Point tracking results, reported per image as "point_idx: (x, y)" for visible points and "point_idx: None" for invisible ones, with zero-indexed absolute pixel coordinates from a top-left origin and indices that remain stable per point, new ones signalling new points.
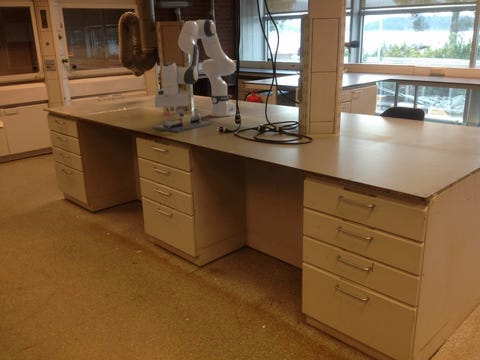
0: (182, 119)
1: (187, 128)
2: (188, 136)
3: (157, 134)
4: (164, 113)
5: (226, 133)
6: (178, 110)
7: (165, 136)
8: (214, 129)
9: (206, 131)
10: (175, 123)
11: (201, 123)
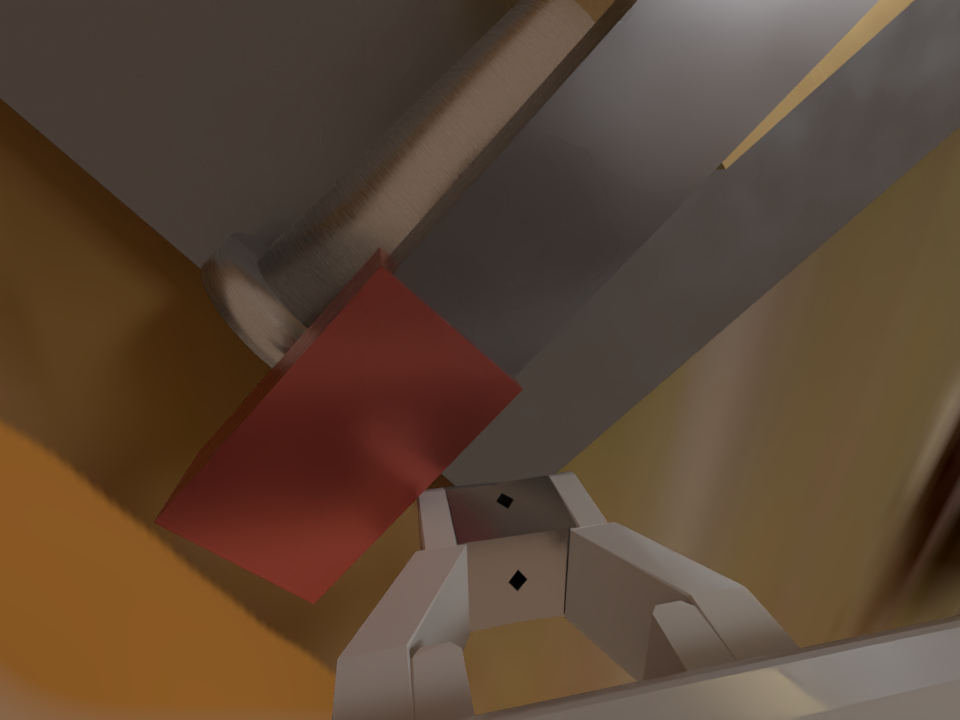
0: None
1: (646, 385)
2: (581, 676)
3: (193, 548)
4: (208, 532)
5: (925, 593)
6: (804, 28)
7: (328, 661)
8: (930, 386)
9: (813, 477)
10: None
11: (950, 67)
